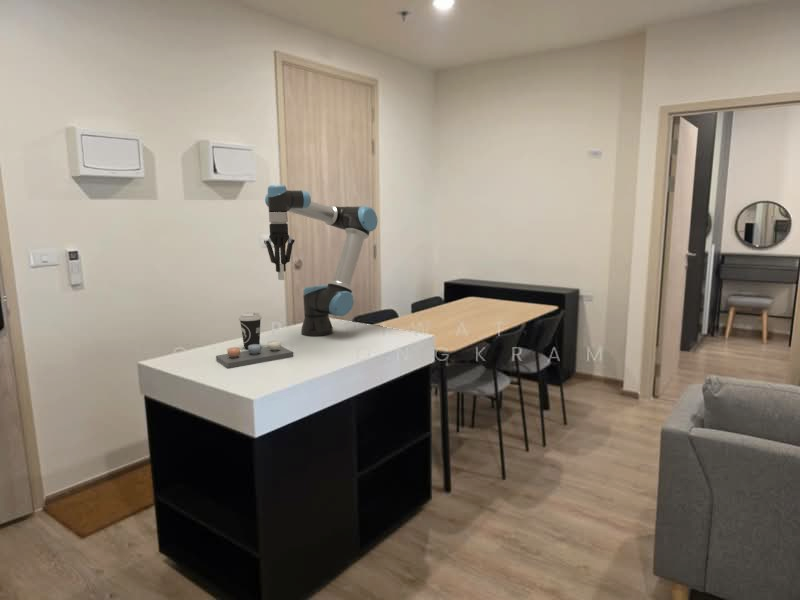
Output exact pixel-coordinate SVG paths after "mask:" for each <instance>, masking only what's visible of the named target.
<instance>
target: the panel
mask: <svg viewBox="0 0 800 600" xmlns="http://www.w3.org/2000/svg"><path fill="white" fill-rule="evenodd" d="M287 358H294V351H293V350H290V349H287V348H286V347H283V346H281V345H280V349H278V351H275V352H272V350H271V349H269V347H268V346H267V347H261V351H260V352H258V354H257V355H252V353H249V350H248V349H247V350H244V351H243V350H240V355H239V356H237V358H234V359H231V356H228V353H223V354H217V355H215V361H216V362H218V363H219V364H221V365H223V366H224V368H226V369H231V368H238V367H244V366H249V365H255V364H261V363H265V362H272V361H276V360H282V359H287Z"/></svg>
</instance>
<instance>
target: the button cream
mask: <svg viewBox="0 0 800 600" xmlns="http://www.w3.org/2000/svg"><path fill="white" fill-rule="evenodd" d="M280 346H281V341H279V340H271V341H269V342H268V345H267V347H269V349H271V350H272V352H275V351H278V349H280Z"/></svg>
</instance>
